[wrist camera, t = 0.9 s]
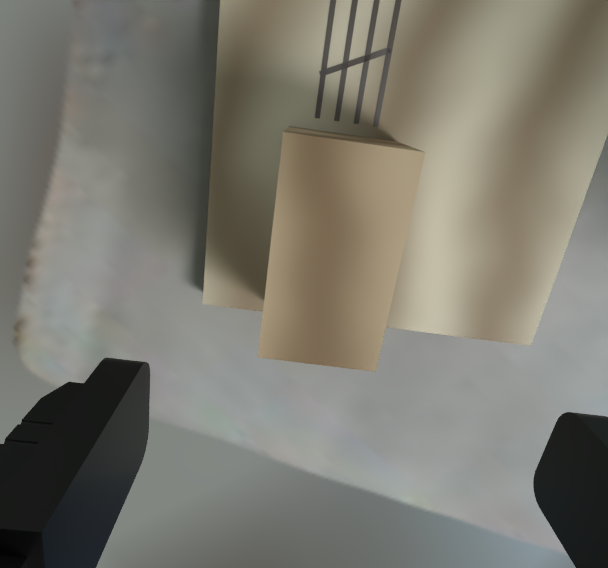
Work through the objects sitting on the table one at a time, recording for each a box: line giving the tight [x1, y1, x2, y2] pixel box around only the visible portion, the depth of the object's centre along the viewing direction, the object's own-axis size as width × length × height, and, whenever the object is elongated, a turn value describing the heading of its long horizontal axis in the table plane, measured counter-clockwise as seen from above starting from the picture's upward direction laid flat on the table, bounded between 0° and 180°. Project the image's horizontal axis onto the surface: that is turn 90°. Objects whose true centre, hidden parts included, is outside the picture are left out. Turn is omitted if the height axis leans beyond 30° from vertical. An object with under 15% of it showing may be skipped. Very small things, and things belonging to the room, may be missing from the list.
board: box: [203, 0, 608, 346], centre depth 21 cm, size 18×23×1 cm
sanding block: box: [258, 126, 425, 372], centre depth 20 cm, size 5×9×6 cm, turn 172°
